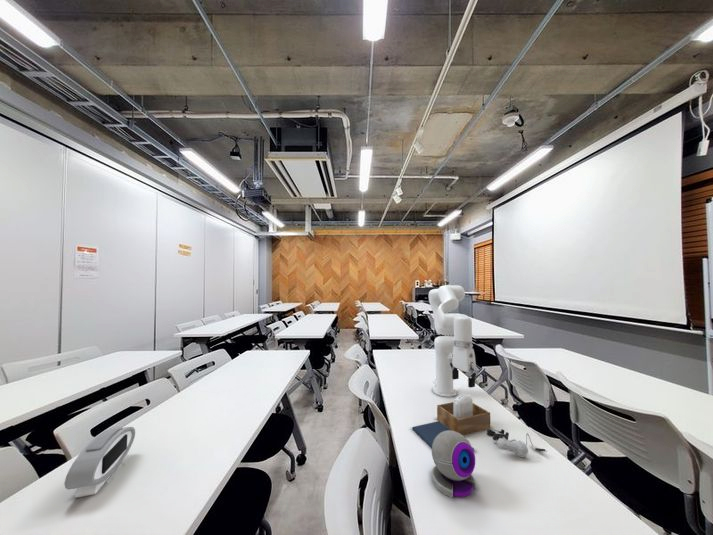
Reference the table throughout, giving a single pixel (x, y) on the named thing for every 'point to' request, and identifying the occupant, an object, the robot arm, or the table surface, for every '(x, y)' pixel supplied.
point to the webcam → (453, 464)
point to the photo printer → (463, 406)
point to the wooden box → (463, 419)
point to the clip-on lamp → (510, 443)
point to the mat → (430, 431)
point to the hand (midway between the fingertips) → (463, 382)
